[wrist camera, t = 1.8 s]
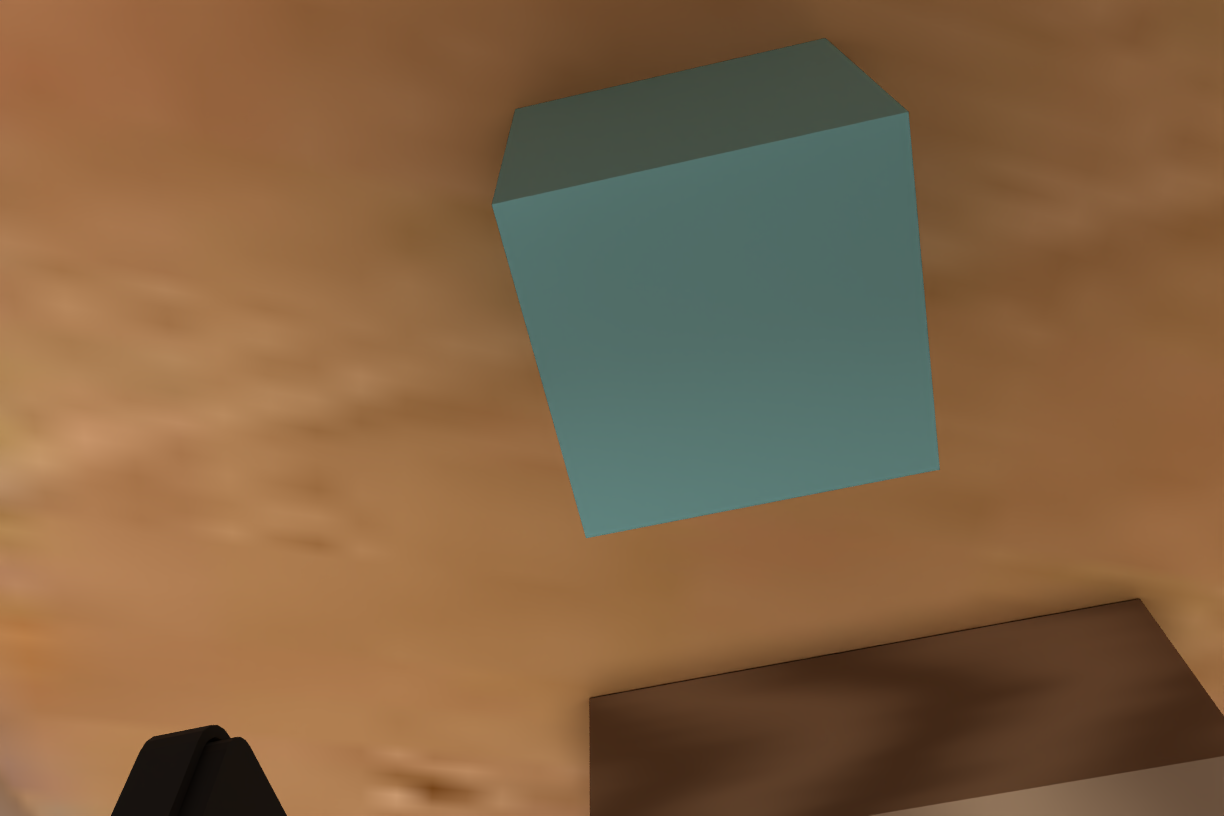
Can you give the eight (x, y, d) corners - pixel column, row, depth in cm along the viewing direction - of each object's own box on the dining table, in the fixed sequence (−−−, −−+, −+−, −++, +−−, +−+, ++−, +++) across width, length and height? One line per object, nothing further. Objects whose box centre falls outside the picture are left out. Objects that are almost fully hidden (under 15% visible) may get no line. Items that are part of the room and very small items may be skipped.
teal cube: (824, 37, 20) (908, 112, 15) (858, 322, 23) (939, 469, 18) (515, 108, 21) (491, 204, 15) (585, 378, 24) (586, 538, 18)
